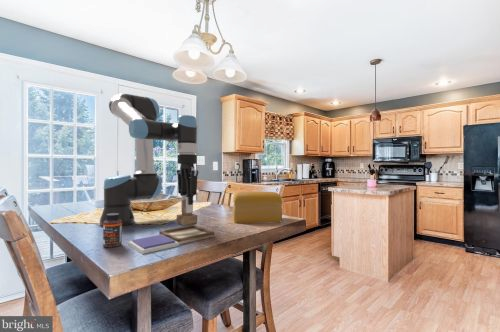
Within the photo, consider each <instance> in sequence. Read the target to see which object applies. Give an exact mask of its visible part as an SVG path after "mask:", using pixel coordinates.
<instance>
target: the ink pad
mask: <svg viewBox="0 0 500 332" xmlns="http://www.w3.org/2000/svg"><path fill="white" fill-rule="evenodd" d="M127 244H128V246H129V247H130V248H133V250H135V251H137V252H138V253H140V254H141V255H144V254H150V253H153V252H157V251H161V250H166V249H170V248H171V249H172V248H174V247H175V248H177V247H179V246H180V244H179V242H177V241H175V240H173V239H170V238H168V237H166V236H164V235H159V234H157V235H152V236H147V237H141V238H136V239H132V240H129V241H128V243H127Z"/></svg>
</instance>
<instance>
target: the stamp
mask: <svg viewBox="0 0 500 332" xmlns="http://www.w3.org/2000/svg"><path fill="white" fill-rule="evenodd" d="M176 223H177V224H176V225H179V226H181V227H185V226H191V225H195V226H198V224H197V223H198V214H194V213H193V212H192V213H186V200H182V212H181V214H176Z"/></svg>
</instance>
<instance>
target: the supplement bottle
mask: <svg viewBox="0 0 500 332" xmlns="http://www.w3.org/2000/svg"><path fill="white" fill-rule="evenodd" d="M106 218H107V219H106V220H105V221H104V223H103V226H102V228H103V229H102V246H103V247H104V248H110V249H111V248H116V247H119V246H120V245H122V244H123V243H122V240H123V239H122V237H123V236H122V234H123V233H122V232H123V231H122V230H123V226H122V220H121V219H119V213H110V214H107V217H106Z"/></svg>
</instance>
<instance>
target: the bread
mask: <svg viewBox="0 0 500 332" xmlns="http://www.w3.org/2000/svg"><path fill="white" fill-rule="evenodd" d="M232 198H233V199H232V200H233V201H232V202H233V205H232V218H233V222H234V224H257V223H256V222H276V223H279V222H278V221H283V207H282V206H283V199H282V197H281V195H280V193H278V192H276V191H239V192H235V194H234V195H233V197H232Z"/></svg>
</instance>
